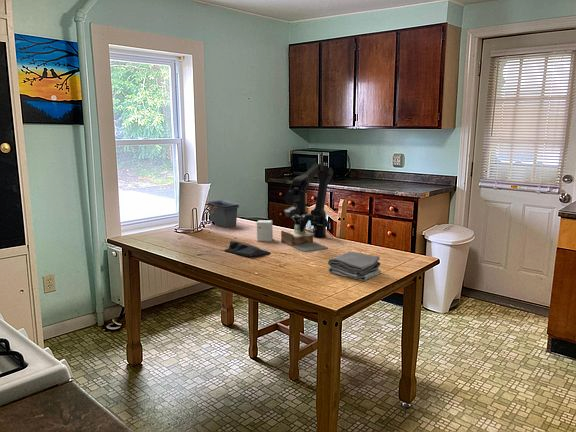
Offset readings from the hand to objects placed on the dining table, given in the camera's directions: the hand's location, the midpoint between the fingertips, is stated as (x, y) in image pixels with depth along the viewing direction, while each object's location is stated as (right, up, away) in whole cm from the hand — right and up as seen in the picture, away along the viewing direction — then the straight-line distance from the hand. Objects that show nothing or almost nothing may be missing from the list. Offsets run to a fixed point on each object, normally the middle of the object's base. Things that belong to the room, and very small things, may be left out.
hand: (300, 231), depth 243 cm
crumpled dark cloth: (-26, -11, -14) cm, 32 cm away
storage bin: (-48, +2, +48) cm, 68 cm away
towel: (+22, -17, -47) cm, 55 cm away
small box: (-19, -5, +10) cm, 22 cm away
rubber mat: (+5, -8, -7) cm, 12 cm away
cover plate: (0, -2, 0) cm, 2 cm away
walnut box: (-1, -6, +4) cm, 8 cm away
